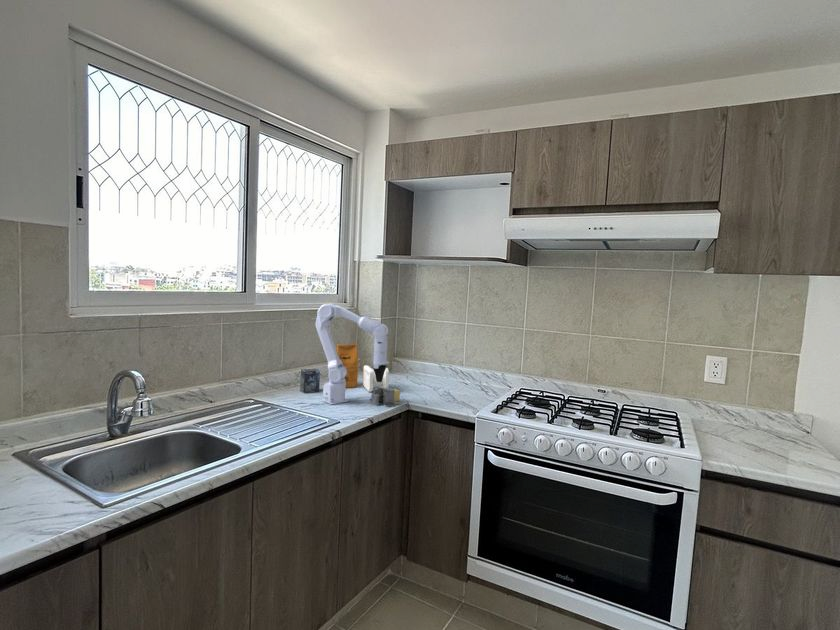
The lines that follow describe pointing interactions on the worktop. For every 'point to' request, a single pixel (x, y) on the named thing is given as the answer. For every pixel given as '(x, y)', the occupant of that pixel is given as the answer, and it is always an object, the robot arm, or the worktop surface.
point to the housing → (385, 395)
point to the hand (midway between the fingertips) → (379, 381)
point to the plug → (376, 400)
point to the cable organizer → (374, 379)
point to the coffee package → (349, 363)
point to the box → (310, 380)
